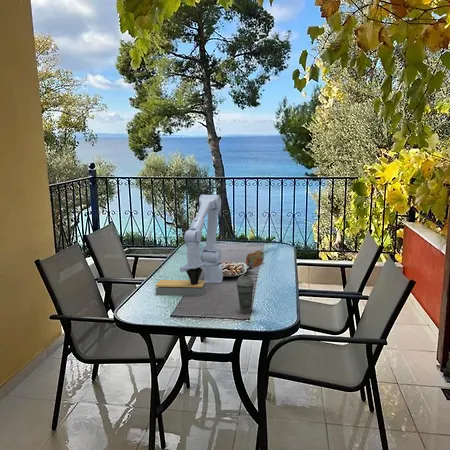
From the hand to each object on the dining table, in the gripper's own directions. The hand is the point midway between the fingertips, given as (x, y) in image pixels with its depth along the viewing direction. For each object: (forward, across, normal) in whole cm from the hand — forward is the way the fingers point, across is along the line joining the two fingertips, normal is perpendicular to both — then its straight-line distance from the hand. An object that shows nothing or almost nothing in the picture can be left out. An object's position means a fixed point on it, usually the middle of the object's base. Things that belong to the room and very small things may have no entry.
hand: (194, 284), depth 199 cm
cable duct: (+5, +4, -6) cm, 9 cm away
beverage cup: (+5, -3, +32) cm, 33 cm away
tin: (+4, -52, -15) cm, 55 cm away
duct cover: (+1, +4, -6) cm, 7 cm away
